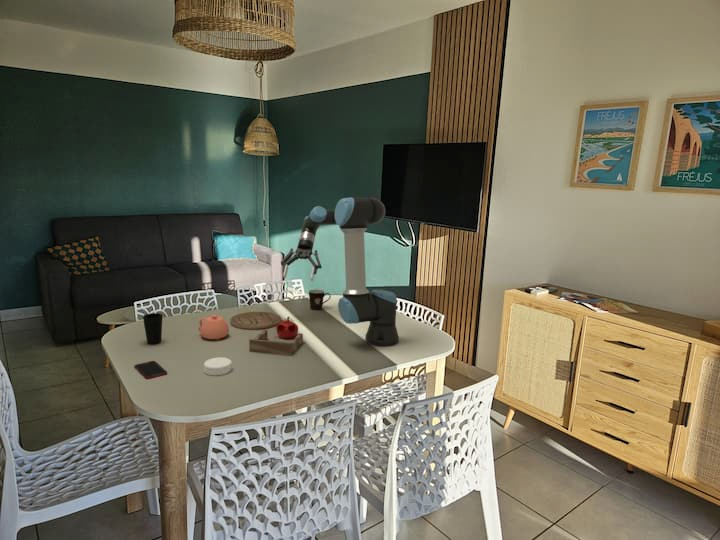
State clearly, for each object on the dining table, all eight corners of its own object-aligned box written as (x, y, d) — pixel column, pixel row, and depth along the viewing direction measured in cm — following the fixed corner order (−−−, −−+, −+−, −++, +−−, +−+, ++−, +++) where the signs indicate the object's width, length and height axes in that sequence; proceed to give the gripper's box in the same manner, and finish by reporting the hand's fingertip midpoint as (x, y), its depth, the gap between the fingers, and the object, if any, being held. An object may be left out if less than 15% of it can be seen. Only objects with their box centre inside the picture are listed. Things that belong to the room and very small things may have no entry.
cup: (166, 342, 206) (165, 316, 203) (149, 346, 200) (147, 319, 198) (159, 338, 211) (157, 312, 208) (141, 342, 205) (139, 315, 203)
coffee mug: (306, 310, 260) (306, 292, 258) (310, 306, 269) (311, 288, 267) (327, 311, 258) (327, 294, 256) (330, 307, 267) (331, 290, 265)
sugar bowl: (220, 342, 208) (220, 320, 206) (191, 339, 210) (190, 317, 208) (233, 334, 219) (233, 312, 217) (206, 331, 222) (205, 310, 220)
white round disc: (205, 377, 173) (205, 368, 172) (202, 367, 182) (202, 358, 181) (233, 374, 177) (233, 365, 176) (229, 364, 186) (229, 355, 185)
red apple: (278, 332, 223) (278, 313, 222) (299, 333, 223) (299, 314, 221) (274, 339, 214) (274, 319, 212) (296, 340, 213) (296, 320, 212)
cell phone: (146, 380, 169) (146, 378, 169) (133, 367, 180) (133, 365, 180) (168, 375, 174) (168, 372, 174) (154, 362, 185) (154, 360, 185)
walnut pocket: (264, 338, 215) (264, 327, 214) (302, 342, 212) (302, 331, 211) (249, 351, 199) (249, 340, 198) (290, 355, 196) (290, 344, 195)
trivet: (270, 312, 255) (270, 309, 254) (288, 326, 234) (288, 322, 233) (224, 318, 242) (223, 315, 241) (238, 333, 221) (238, 329, 220)
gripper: (331, 248, 242) (324, 284, 231) (283, 245, 245) (274, 280, 234) (329, 240, 236) (322, 276, 225) (280, 236, 239) (271, 272, 228)
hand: (297, 278), depth 229 cm, fingers open, 13 cm apart
